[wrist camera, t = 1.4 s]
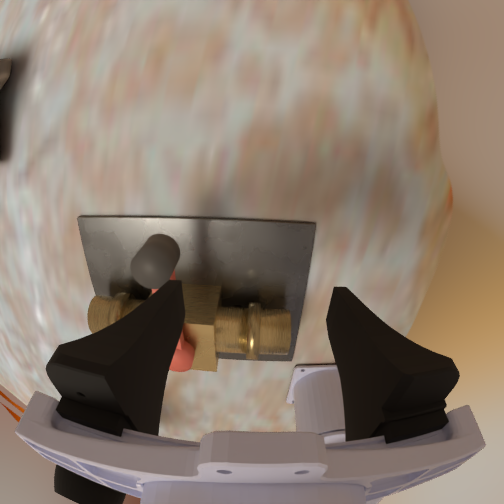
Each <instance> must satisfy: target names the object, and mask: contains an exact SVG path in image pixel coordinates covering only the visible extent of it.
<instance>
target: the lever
mask: <svg viewBox="0 0 504 504" xmlns="http://www.w3.org/2000/svg"><path fill="white" fill-rule="evenodd" d="M179 259H180V248H179V245H178V244H177V242H176V241H175V240H174V239H173V238H171V237H170V236H168V235H165V234H154V235H152V236H150V237H149V238H148V239H147V241H146V242H145V243H144V244H143V246H142V247H141V248H140V250H139V251H138V252H137V253H136V255H135V256H134V257H133V259H132V261H131V264H130V269H131V273H132V275H133V277H134V279H135V280H136V281H137V282H138V283H139V284H141V285H142V286H144V287H146V288H149V289H152V294H153V293H155V292H156V291H157V290H158V289H159V288H160V287H161V286H162V285H164V284H165V283H166V282H167V281H168V280H176V278H175V267H176V265H177V263H178V261H179ZM194 356H195V350H194V348H193V347H192V345H191V344H189V343H188V342H186V341H184V336H183V329H182V333H181V336H180V339H179V342H178V345H177V347H176V350H175V353H174V356H173V359H172V362H171V365H170V368H169V369H170V370H172V371H177V372H184V371H188V370H189V369H191V367H192V364H193V360H194Z"/></svg>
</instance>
